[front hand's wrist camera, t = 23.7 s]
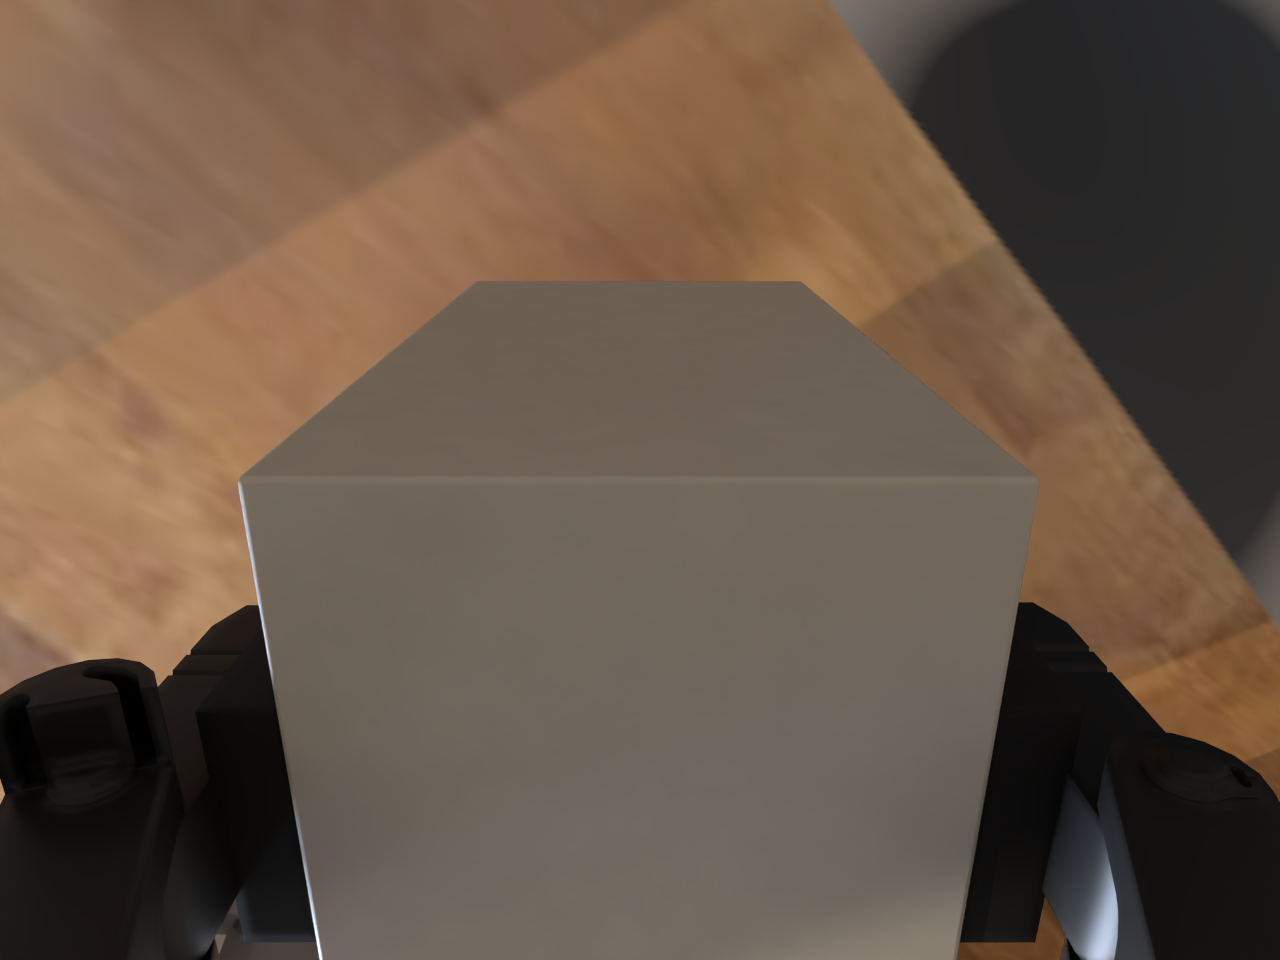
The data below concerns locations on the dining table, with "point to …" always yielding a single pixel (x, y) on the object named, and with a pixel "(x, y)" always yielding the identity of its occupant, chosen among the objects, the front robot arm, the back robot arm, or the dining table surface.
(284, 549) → the block
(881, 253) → the dining table surface
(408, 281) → the dining table surface
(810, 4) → the dining table surface
